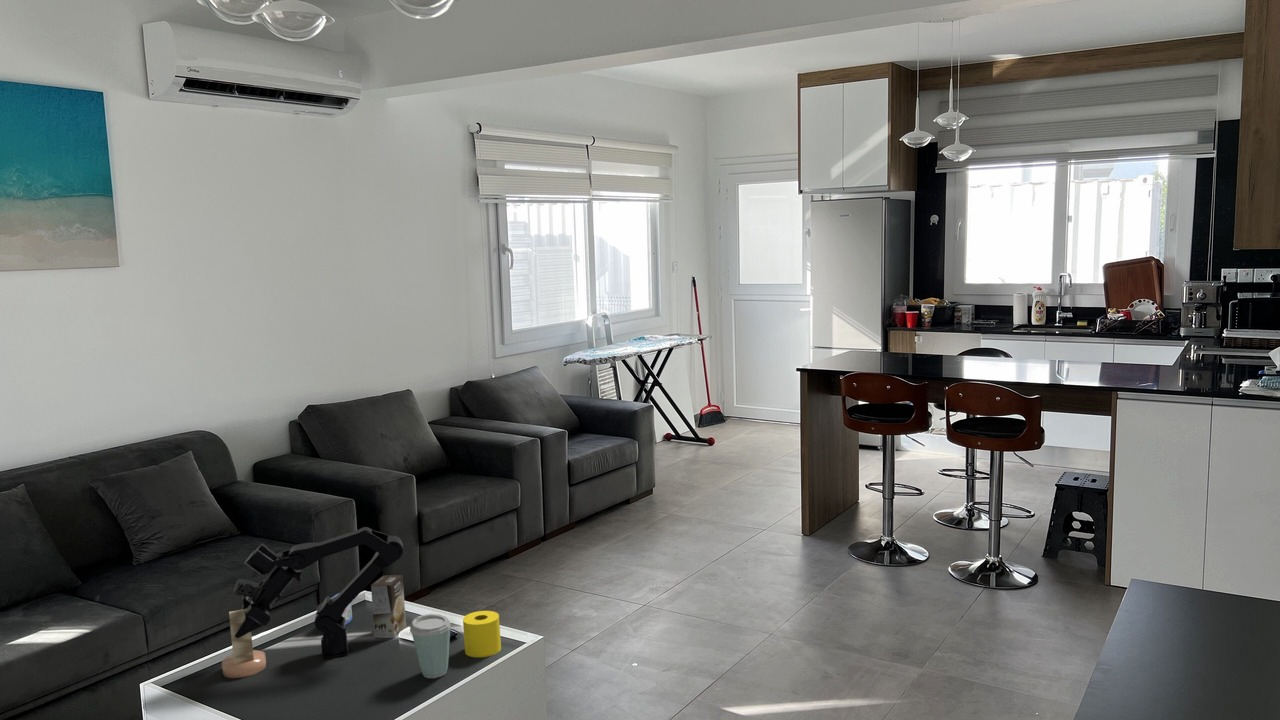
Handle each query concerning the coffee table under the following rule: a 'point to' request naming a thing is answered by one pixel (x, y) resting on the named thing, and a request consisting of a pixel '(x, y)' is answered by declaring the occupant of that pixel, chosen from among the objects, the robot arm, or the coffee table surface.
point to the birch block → (242, 644)
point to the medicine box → (346, 612)
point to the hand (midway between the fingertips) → (235, 631)
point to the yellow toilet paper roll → (482, 633)
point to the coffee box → (388, 606)
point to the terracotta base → (244, 666)
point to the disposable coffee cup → (432, 643)
